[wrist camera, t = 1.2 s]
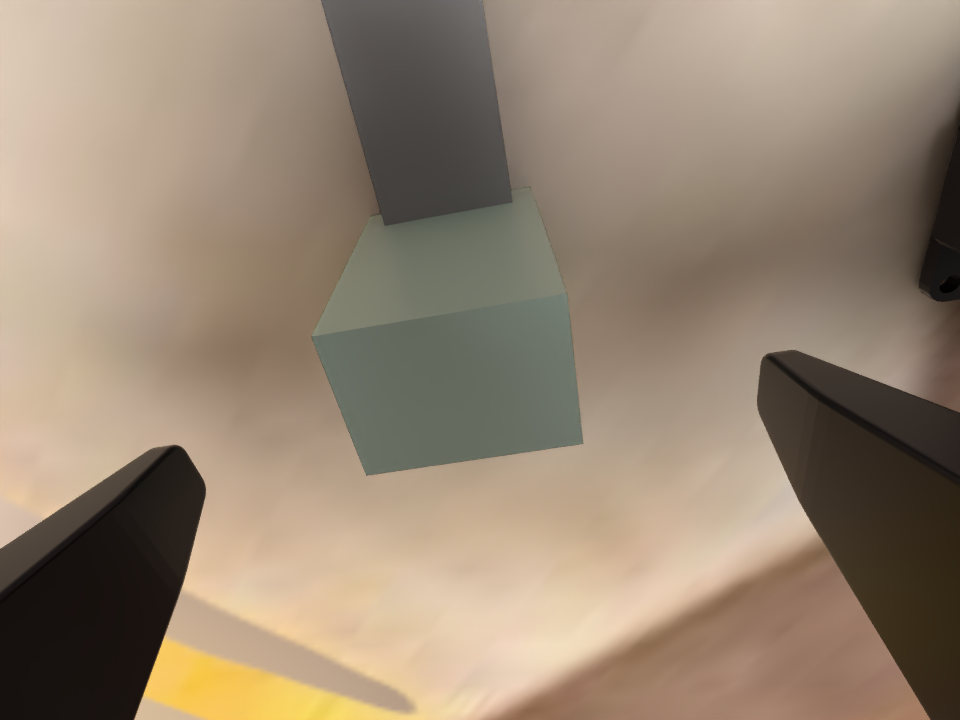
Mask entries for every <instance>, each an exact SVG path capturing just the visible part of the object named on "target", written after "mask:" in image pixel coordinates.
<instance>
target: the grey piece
mask: <svg viewBox="0 0 960 720" xmlns="http://www.w3.org/2000/svg"><path fill="white" fill-rule="evenodd" d="M321 1H322V5H323V8H324V12H325V15H326V19H327V23H328V26H329V30H330V33H331V37H332V40H333V44H334V47H335V51H336V55H337V58H338V62H339V65H340V69H341V72H342V76H343V80H344V83H345V87H346V90H347V94H348V97H349V101H350V104H351V108H352V112H353V115H354V119H355V122H356V126H357V129H358V133H359V137H360V140H361V144H362V147H363V151H364V154H365V158H366V161H367V165H368V169H369V172H370V176H371V179H372V183H373V186H374V190H375V194H376V197H377V201H378V204H379V208H380V211H381V215H375V216H370V218H369V220H368V222H367V224H366V226H365V228H364V230H363V232H362V234H361V236H360V238H359V240H358V242H357V244H356V247H355V249H354V251H353V253H352V255H351V257H350V259H349V261H348V263H347V265H346V267H345V269H344V271H343V273H342V275H341V277H340V279H339V281H338V283H337V285H336V287H335V289H334V291H333V293H332V295H331V297H330V299H329V301H328V303H327V305H326V307H325V309H324V311H323V314H322V316H321V318H320V320H319V322H318V324H317V326H316V328H315V330H314V332H313V334H312V336H311V337H312V340H313V342H314V345H315V347H316V350H317V352H318V355H319V358H320V360H321V363H322V365H323V368H324V370H325V373H326V375H327V378H328V380H329V383H330V385H331V388H332V390H333V393H334V395H335V398H336V400H337V403H338V405H339V408H340V410H341V413H342V415H343V418H344V421H345V423H346V426H347V428H348V431H349V433H350V436H351V438H352V441H353V443H354V446H355V448H356V451H357V453H358V456H359V458H360V461H361V463H362V466H363V468H364V471H365V473H366V476H367V475H374V474H380V473H387V472H394V471H401V470H408V469H415V468H421V467H428V466H435V465H442V464H449V463H456V462H463V461H469V460H476V459H483V458H490V457H497V456H504V455H510V454H517V453H524V452H531V451H538V450H545V449H551V448H558V447H565V446H572V445H579V444H583V437H582V428H581V418H580V409H579V400H578V390H577V381H576V372H575V362H574V353H573V344H572V334H571V325H570V316H569V306H568V297H567V291H566V289H565V286H564V283H563V280H562V277H561V274H560V271H559V268H558V265H557V262H556V259H555V256H554V254H553V251H552V248H551V245H550V242H549V239H548V236H547V233H546V230H545V227H544V224H543V221H542V219H541V216H540V213H539V210H538V207H537V204H536V201H535V198H534V195H533V192H532V189H531V187H525V188H520V189H514V190H511V188H510V181H509V174H508V168H507V161H506V154H505V148H504V141H503V135H502V128H501V121H500V115H499V108H498V101H497V95H496V88H495V81H494V75H493V68H492V61H491V55H490V48H489V41H488V35H487V28H486V21H485V15H484V8H483V2H482V0H321Z"/></svg>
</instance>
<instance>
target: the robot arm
mask: <svg viewBox="0 0 960 720" xmlns="http://www.w3.org/2000/svg"><path fill="white" fill-rule="evenodd" d="M947 277H949V278H948V280H947V281H946V282H945V283H944V284H942V285H940V284H941V282H942V281H943V280H944V279H945V278H947ZM919 289H920V290H921V292H922V293H924V294H925V295H927V296H928V297H930V298H932V299H934V300H936V301H940V302H945V301H952V300H958V299H960V127H959V131H958V135H957V138H956V142H955V146H954V150H953V154H952V158H951V161H950V165H949V169H948V173H947V177H946V180H945V184H944V188H943V192H942V196H941V199H940V203H939V207H938V211H937V215H936V218H935V222H934V226H933V230H932V234H931V237H930V241H929V245H928V249H927V253H926V256H925V260H924V264H923V268H922V272H921V276H920V279H919ZM757 406H758V411H759V414H760V417H761V419H762V421H763V423H764V426H765V428H766V430H767V432H768V434H769V437H770V439H771V441H772V443H773V445H774V448H775V450H776V452H777V454H778V457H779V459H780V461H781V463H782V465H783V468H784V470H785V472H786V474H787V476H788V479H789V481H790V483H791V485H792V487H793V490H794V492H795V494H796V496H797V498H798V500H799V502H800V504H801V505H802V507H803V509H804V511H805V513H806V514H807V516H808V518H809V519H810V521H811V523H812V524H813V526H814V528H815V529H816V531H817V533H818V534H819V536H820V538H821V539H822V541H823V543H824V544H825V546H826V548H827V549H828V551H829V553H830V554H831V556H832V558H833V559H834V561H835V562H836V564H837V566H838V567H839V569H840V571H841V572H842V574H843V576H844V577H845V579H846V581H847V582H848V584H849V586H850V587H851V589H852V591H853V592H854V594H855V596H856V597H857V599H858V601H859V602H860V604H861V605H862V607H863V609H864V610H865V612H866V614H867V615H868V617H869V619H870V620H871V622H872V624H873V625H874V627H875V629H876V630H877V632H878V634H879V635H880V637H881V639H882V640H883V642H884V644H885V645H886V647H887V648H888V650H889V652H890V653H891V655H892V657H893V658H894V660H895V662H896V663H897V665H898V667H899V668H900V670H901V672H902V673H903V675H904V677H905V678H906V680H907V682H908V683H909V685H910V687H911V688H912V690H913V692H914V693H915V695H916V696H917V698H918V700H919V701H920V703H921V705H922V706H923V708H924V710H925V711H926V713H927V715H928V716H929V718H930V720H960V413H959V412H956V411H954V410H951V409H948V408H946V407H943V406H941V405H938V404H935V403H933V402H930V401H927V400H925V399H922V398H920V397H917V396H914V395H912V394H909V393H907V392H904V391H901V390H899V389H896V388H893V387H891V386H888V385H886V384H883V383H880V382H878V381H875V380H872V379H870V378H867V377H865V376H862V375H859V374H857V373H854V372H852V371H849V370H846V369H844V368H841V367H838V366H836V365H833V364H831V363H828V362H825V361H823V360H820V359H818V358H815V357H812V356H810V355H807V354H804V353H802V352H799V351H796V350H787V351H781V352H775V353H769V354H766V355H765V356H764V357H763V359H762V361H761V366H760V376H759V385H758V395H757ZM205 496H206V487H205V483H204V480H203V478H202V477H201V475H200V473H199V472H198V470H197V469H196V467H195V465H194V464H193V462H192V460H191V459H190V457H189V456H188V454H187V452H186V451H185V450H184V449H183V448H182V447H181V446H178V445H170V446H163V447H157V448H153V449H150V450H148V451H147V452H145V453H144V454H142V455H141V456H139V457H138V458H136V459H135V460H133V461H132V462H130V463H129V464H127V465H126V466H124V467H123V468H121V469H120V470H118V471H117V472H115V473H114V474H112V475H111V476H109V477H108V478H106V479H105V480H103V481H102V482H100V483H99V484H97V485H96V486H94V487H93V488H91V489H90V490H88V491H87V492H85V493H84V494H82V495H81V496H79V497H78V498H76V499H75V500H73V501H72V502H70V503H69V504H67V505H66V506H64V507H63V508H61V509H60V510H58V511H57V512H55V513H54V514H52V515H51V516H49V517H48V518H46V519H45V520H43V521H42V522H40V523H39V524H37V525H36V526H34V527H33V528H31V529H30V530H28V531H27V532H25V533H24V534H22V535H21V536H19V537H18V538H16V539H15V540H13V541H12V542H10V543H9V544H7V545H5V546H4V547H2V548H1V549H0V720H134V719H135V716H136V713H137V711H138V708H139V705H140V702H141V700H142V697H143V694H144V691H145V689H146V686H147V683H148V680H149V678H150V675H151V672H152V669H153V667H154V664H155V661H156V658H157V656H158V653H159V650H160V647H161V644H162V642H163V639H164V636H165V633H166V631H167V628H168V625H169V622H170V620H171V617H172V614H173V611H174V608H175V606H176V603H177V600H178V597H179V594H180V591H181V589H182V586H183V582H184V579H185V575H186V572H187V568H188V564H189V560H190V556H191V552H192V548H193V544H194V540H195V536H196V532H197V528H198V524H199V520H200V516H201V512H202V508H203V504H204V500H205Z"/></svg>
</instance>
